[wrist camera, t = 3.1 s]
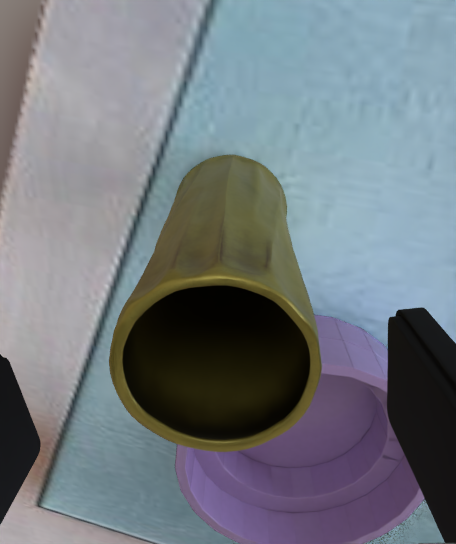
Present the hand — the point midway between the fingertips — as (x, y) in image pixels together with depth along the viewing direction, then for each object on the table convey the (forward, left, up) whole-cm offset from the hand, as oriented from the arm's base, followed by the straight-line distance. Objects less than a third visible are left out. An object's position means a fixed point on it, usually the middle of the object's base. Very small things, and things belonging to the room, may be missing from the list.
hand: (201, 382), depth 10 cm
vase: (0, 0, -14) cm, 14 cm away
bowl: (+13, +3, -14) cm, 20 cm away
